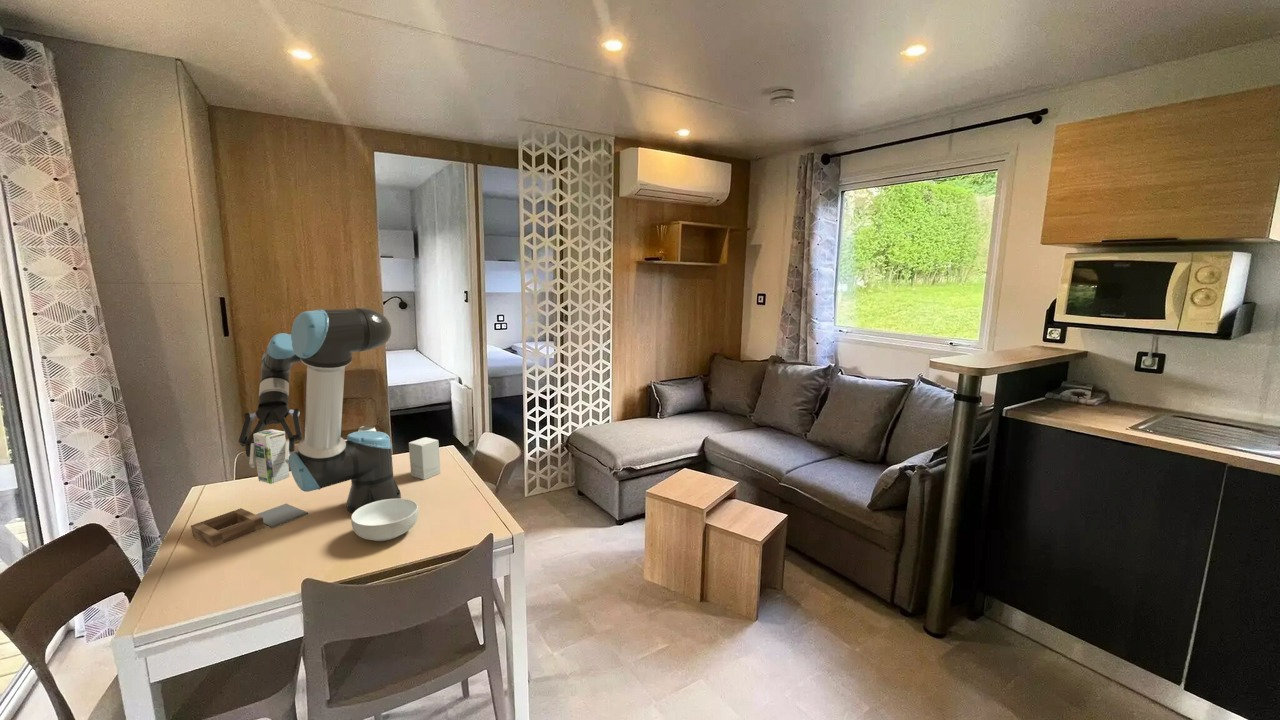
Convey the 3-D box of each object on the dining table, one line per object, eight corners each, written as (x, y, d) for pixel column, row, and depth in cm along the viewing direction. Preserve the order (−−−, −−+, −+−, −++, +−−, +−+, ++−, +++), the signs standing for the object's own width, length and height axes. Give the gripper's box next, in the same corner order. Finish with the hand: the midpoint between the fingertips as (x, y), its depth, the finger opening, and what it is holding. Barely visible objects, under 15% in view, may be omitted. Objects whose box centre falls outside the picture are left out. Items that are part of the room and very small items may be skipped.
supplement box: (441, 473, 186) (439, 440, 184) (423, 480, 180) (421, 445, 178) (428, 469, 190) (426, 436, 188) (410, 475, 184) (407, 442, 182)
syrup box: (257, 481, 150) (251, 433, 147) (278, 474, 155) (272, 427, 153) (270, 484, 148) (264, 436, 145) (291, 477, 153) (285, 430, 150)
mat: (308, 514, 154) (308, 512, 154) (271, 528, 146) (271, 526, 146) (286, 505, 160) (286, 503, 160) (249, 518, 151) (249, 516, 151)
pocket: (264, 528, 146) (262, 517, 145) (213, 547, 135) (212, 536, 135) (242, 518, 151) (241, 508, 151) (192, 536, 141) (190, 525, 141)
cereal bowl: (415, 545, 138) (413, 520, 136) (345, 554, 133) (343, 529, 132) (422, 516, 154) (421, 494, 152) (361, 523, 149) (359, 500, 148)
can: (372, 460, 199) (370, 430, 197) (356, 459, 199) (353, 430, 197) (381, 454, 205) (379, 425, 203) (365, 453, 205) (362, 425, 203)
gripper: (314, 399, 166) (313, 463, 155) (235, 406, 157) (228, 474, 146) (311, 386, 160) (310, 452, 149) (229, 392, 151) (221, 463, 140)
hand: (269, 463), depth 147 cm, fingers closed on syrup box, 8 cm apart
